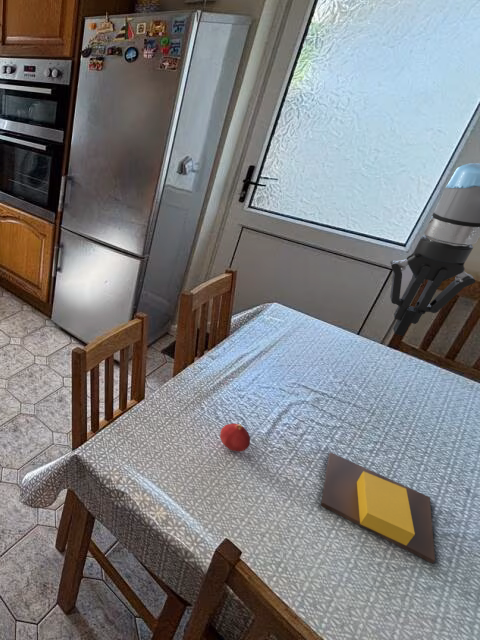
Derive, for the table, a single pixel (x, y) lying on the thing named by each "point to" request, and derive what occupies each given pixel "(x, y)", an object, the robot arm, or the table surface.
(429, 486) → the table surface
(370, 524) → the block
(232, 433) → the red round piece
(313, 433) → the table surface
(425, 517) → the board
